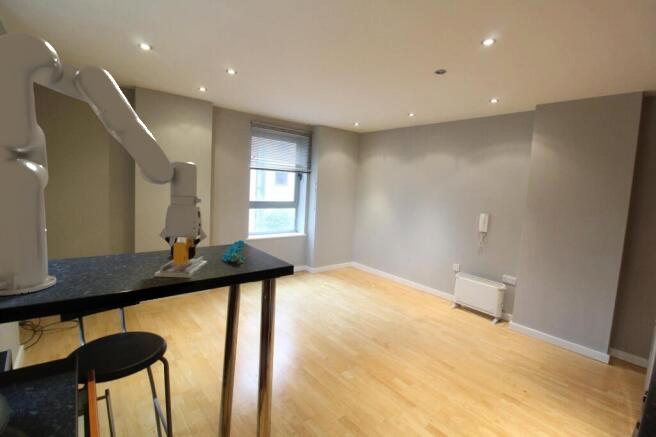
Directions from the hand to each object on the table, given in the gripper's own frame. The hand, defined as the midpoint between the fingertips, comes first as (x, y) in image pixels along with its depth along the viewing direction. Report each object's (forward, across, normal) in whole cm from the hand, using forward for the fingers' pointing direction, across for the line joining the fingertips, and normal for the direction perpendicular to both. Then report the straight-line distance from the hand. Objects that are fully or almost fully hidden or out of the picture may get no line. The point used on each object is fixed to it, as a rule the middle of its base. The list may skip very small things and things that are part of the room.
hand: (183, 257), depth 97 cm
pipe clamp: (+1, 0, 0) cm, 1 cm away
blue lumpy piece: (+4, -13, -13) cm, 19 cm away
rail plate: (+4, 0, 0) cm, 4 cm away
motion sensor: (+4, +7, -20) cm, 22 cm away
